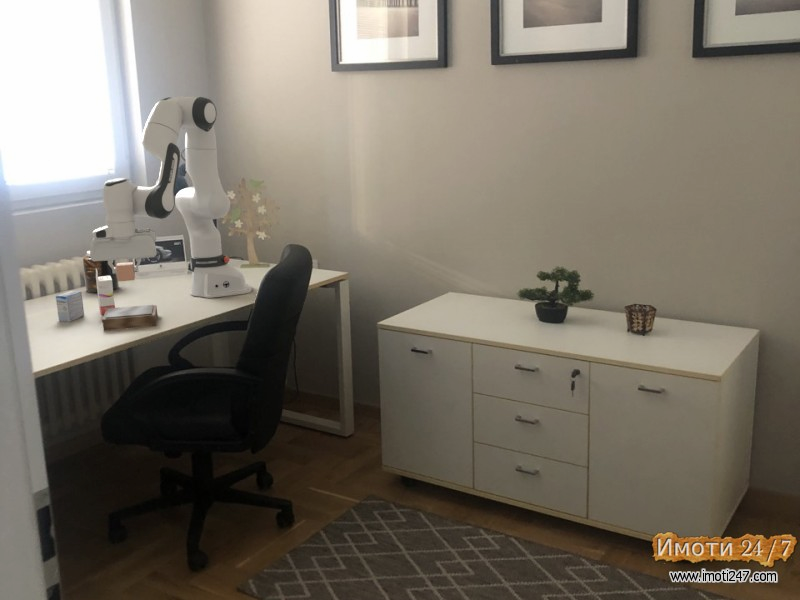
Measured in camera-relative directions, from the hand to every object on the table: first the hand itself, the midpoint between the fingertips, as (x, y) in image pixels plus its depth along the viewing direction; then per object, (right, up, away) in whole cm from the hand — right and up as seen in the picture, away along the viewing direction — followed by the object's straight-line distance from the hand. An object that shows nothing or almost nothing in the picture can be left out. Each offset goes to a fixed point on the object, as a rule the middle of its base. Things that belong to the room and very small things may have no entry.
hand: (125, 272), depth 272 cm
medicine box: (-22, -15, +12) cm, 29 cm away
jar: (-26, -5, +54) cm, 60 cm away
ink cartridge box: (-13, -13, +20) cm, 27 cm away
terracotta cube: (0, -2, 0) cm, 2 cm away
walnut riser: (0, -16, +4) cm, 17 cm away
